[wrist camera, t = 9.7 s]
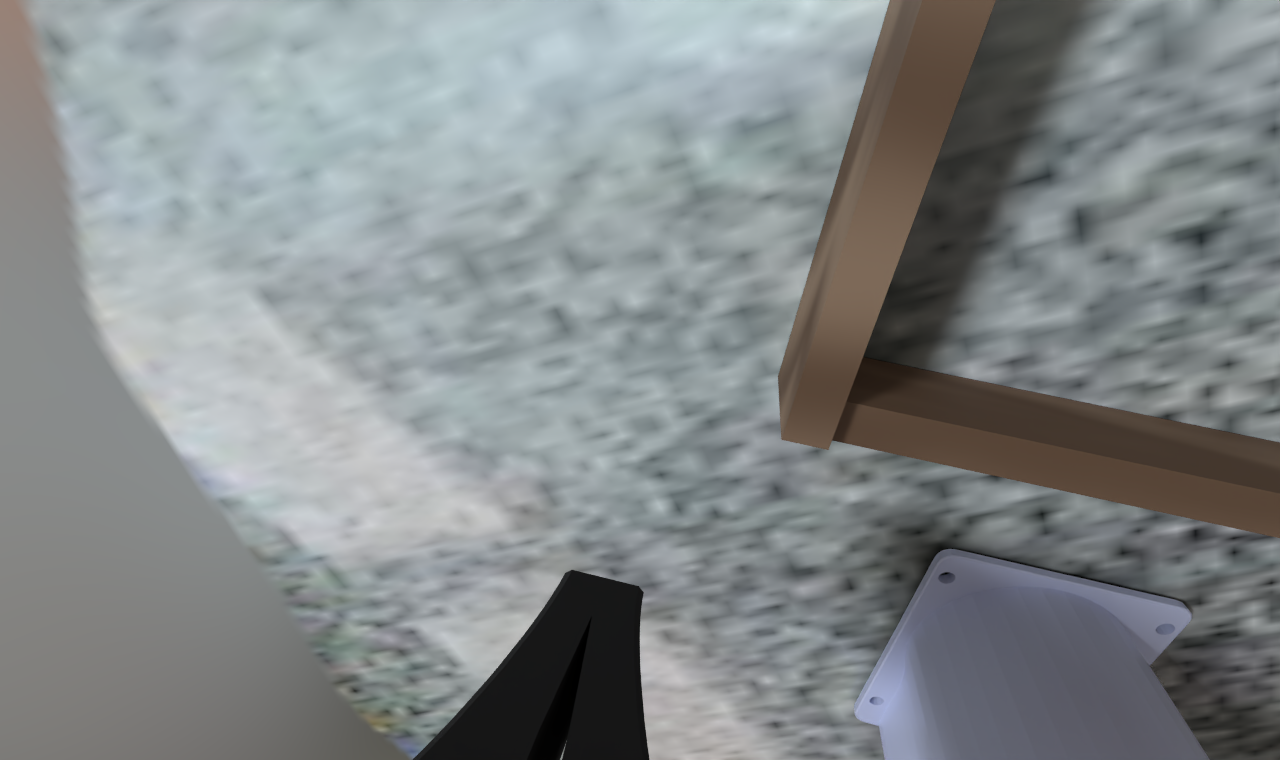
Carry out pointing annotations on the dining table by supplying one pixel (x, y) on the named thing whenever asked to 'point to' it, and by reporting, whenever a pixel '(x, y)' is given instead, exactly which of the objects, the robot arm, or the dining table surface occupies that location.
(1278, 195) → the dining table surface
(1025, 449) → the shelf lane
